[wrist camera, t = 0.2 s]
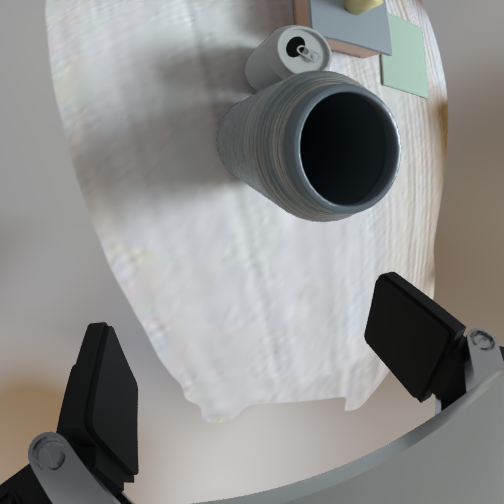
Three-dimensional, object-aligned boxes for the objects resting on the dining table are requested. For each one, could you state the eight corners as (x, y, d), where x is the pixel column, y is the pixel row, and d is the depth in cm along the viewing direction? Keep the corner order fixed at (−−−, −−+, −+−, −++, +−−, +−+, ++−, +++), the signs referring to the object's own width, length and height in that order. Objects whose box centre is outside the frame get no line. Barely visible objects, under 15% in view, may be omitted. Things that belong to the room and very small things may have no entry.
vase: (201, 164, 36) (234, 202, 15) (233, 86, 33) (309, 28, 12) (277, 192, 40) (378, 255, 20) (307, 120, 37) (431, 121, 16)
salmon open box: (291, -16, 27) (307, -32, 22) (356, 1, 30) (377, -10, 24) (295, 44, 32) (313, 33, 26) (362, 58, 34) (386, 52, 29)
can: (258, 40, 30) (291, 8, 20) (303, 66, 33) (348, 47, 23) (232, 80, 32) (257, 57, 22) (279, 106, 35) (320, 97, 25)
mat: (375, 8, 30) (376, 7, 30) (420, 28, 33) (421, 28, 33) (382, 84, 37) (384, 84, 36) (427, 98, 40) (428, 98, 39)
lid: (303, -35, 21) (322, -54, 16) (379, -11, 24) (402, -21, 19) (310, 35, 26) (333, 21, 21) (388, 56, 29) (415, 50, 24)
